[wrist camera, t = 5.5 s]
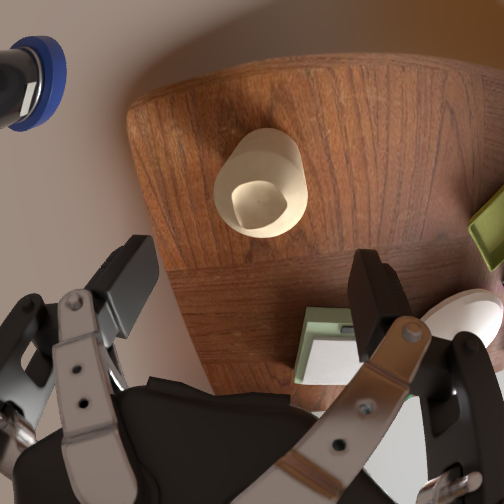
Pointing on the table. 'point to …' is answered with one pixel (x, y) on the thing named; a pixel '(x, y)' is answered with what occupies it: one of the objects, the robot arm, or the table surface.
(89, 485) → the robot arm
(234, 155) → the candle
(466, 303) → the vase
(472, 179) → the table surface
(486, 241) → the green square dish
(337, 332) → the scale
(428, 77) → the table surface
